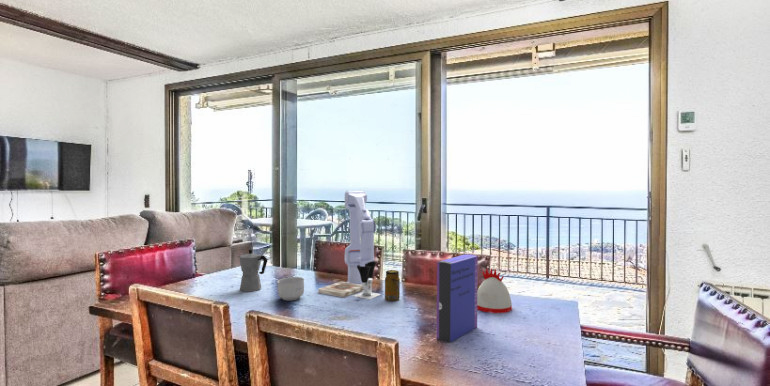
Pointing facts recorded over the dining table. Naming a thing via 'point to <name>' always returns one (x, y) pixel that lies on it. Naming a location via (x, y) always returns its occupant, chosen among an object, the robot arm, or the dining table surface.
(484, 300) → the beige rounded dome
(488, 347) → the dining table surface
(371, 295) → the tab
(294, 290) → the teacup
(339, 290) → the hole plate
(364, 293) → the knob
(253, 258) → the coffeepot
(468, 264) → the blue book
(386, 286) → the condiment
